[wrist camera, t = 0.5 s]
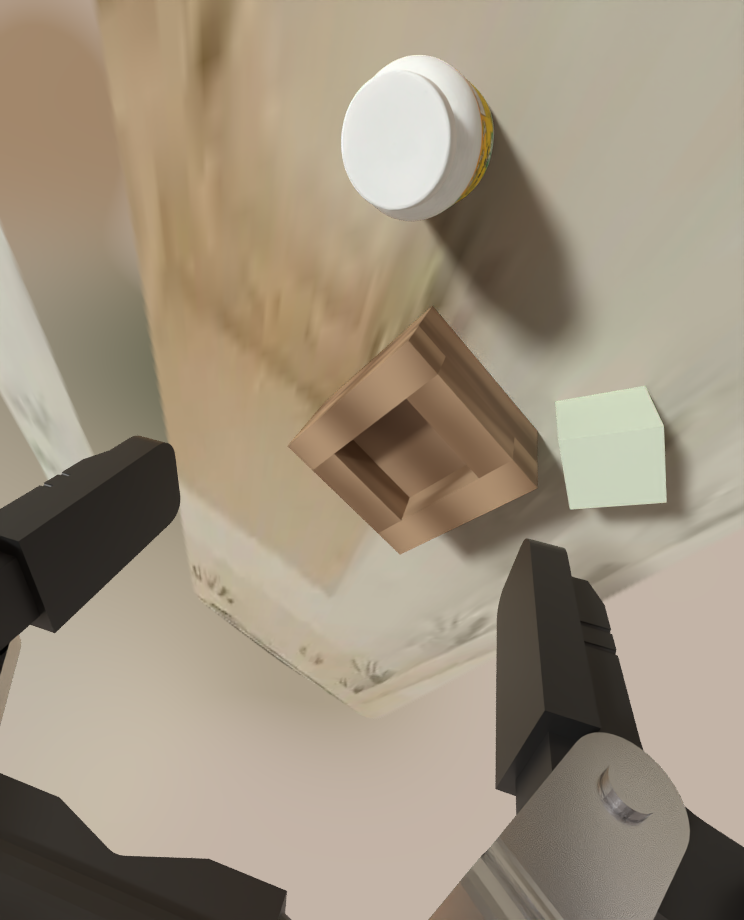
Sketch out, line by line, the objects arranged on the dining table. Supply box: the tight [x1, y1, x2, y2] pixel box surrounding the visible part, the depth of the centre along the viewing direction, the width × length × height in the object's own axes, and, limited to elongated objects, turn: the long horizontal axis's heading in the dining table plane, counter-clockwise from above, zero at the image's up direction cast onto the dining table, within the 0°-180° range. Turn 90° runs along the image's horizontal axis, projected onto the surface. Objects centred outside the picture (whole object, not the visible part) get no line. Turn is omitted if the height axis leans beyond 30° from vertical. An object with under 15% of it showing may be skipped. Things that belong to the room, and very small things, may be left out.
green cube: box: [555, 386, 667, 510], centre depth 26 cm, size 5×5×5 cm
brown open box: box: [288, 306, 538, 554], centre depth 29 cm, size 11×11×6 cm
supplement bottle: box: [341, 55, 494, 221], centre depth 19 cm, size 5×5×10 cm
